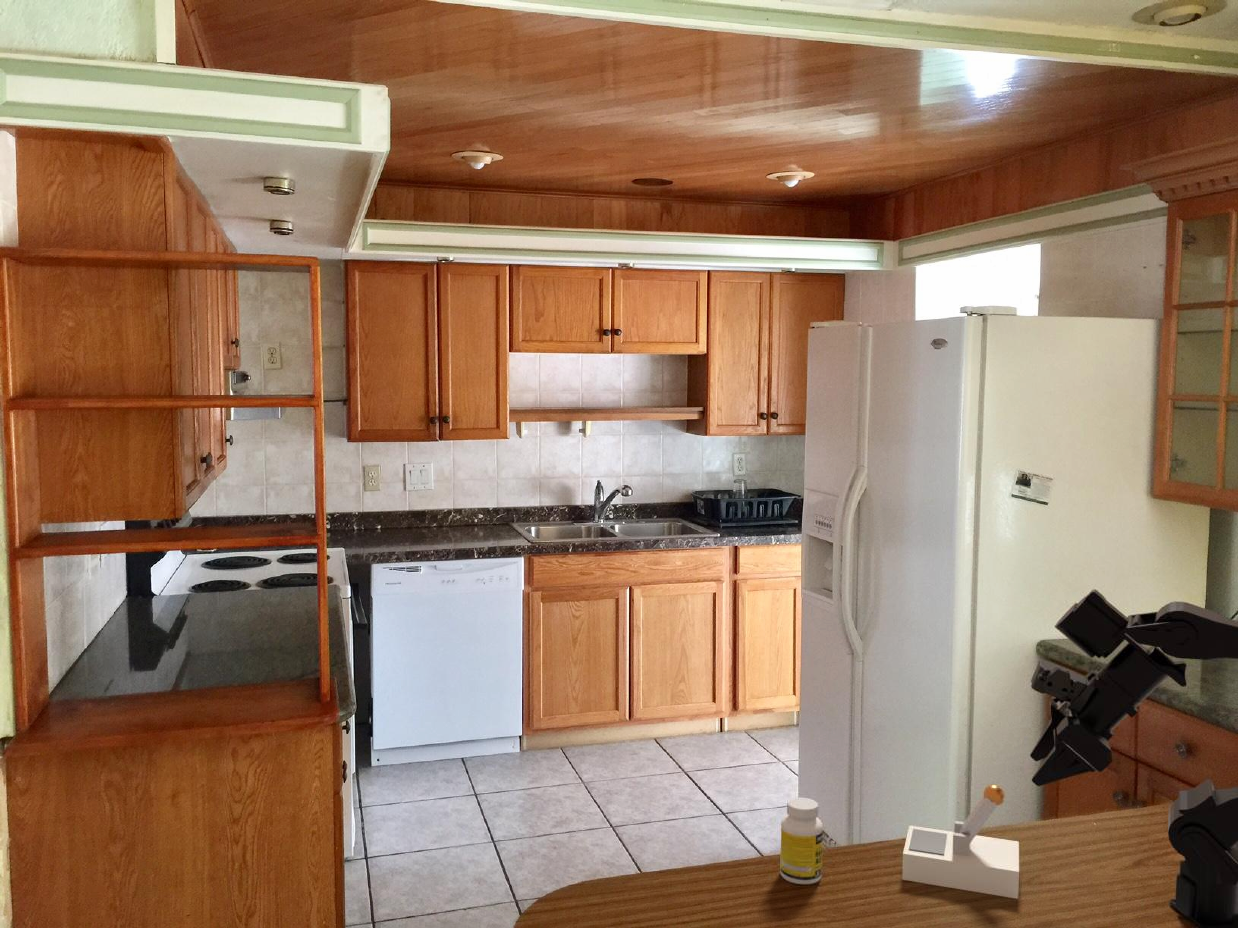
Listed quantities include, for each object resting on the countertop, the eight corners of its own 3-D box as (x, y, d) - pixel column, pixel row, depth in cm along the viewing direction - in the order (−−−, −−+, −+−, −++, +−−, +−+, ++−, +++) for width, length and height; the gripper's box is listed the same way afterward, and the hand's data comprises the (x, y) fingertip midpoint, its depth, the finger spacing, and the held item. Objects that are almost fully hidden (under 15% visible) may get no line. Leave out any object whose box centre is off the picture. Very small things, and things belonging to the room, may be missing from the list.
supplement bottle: (822, 887, 131) (823, 813, 131) (779, 883, 133) (780, 809, 132) (822, 867, 137) (823, 796, 136) (781, 864, 138) (781, 793, 137)
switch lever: (968, 845, 136) (1008, 789, 134) (967, 853, 133) (1008, 797, 131) (950, 833, 137) (990, 777, 134) (949, 841, 134) (990, 785, 132)
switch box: (1017, 866, 137) (1019, 823, 136) (1018, 898, 129) (1019, 852, 128) (908, 849, 142) (909, 807, 141) (902, 879, 134) (903, 834, 133)
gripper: (1064, 624, 138) (984, 705, 142) (1072, 657, 120) (980, 749, 124) (1134, 682, 135) (1050, 763, 139) (1153, 724, 118) (1056, 815, 122)
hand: (1033, 770), depth 131 cm, fingers open, 9 cm apart
